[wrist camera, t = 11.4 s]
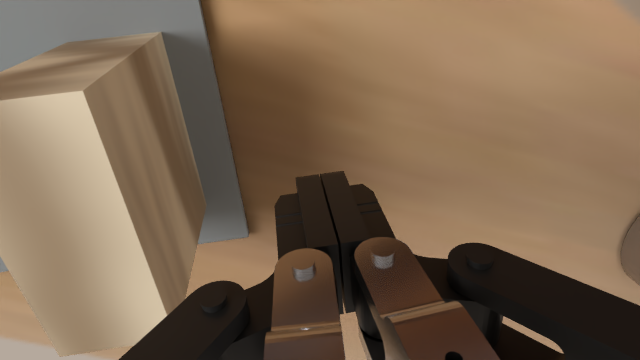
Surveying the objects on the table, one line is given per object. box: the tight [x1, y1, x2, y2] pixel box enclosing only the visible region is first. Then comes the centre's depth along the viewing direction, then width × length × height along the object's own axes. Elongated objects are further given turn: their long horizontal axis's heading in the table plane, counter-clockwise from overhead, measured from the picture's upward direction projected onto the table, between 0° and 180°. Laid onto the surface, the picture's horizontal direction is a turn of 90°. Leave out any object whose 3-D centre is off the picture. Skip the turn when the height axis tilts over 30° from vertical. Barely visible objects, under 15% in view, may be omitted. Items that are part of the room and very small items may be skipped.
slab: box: [0, 32, 207, 357], centre depth 16 cm, size 4×9×9 cm, turn 5°
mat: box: [0, 0, 249, 272], centre depth 20 cm, size 16×14×1 cm
